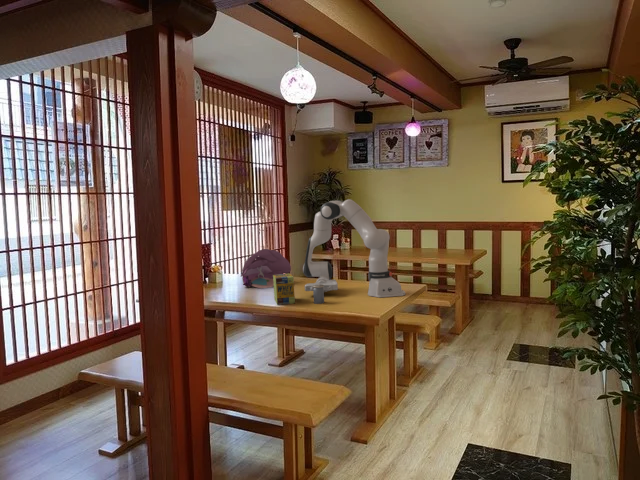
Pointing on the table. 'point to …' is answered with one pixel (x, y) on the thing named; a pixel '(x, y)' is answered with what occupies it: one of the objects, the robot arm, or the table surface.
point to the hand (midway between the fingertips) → (320, 289)
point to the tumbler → (318, 293)
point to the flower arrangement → (264, 268)
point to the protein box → (283, 289)
